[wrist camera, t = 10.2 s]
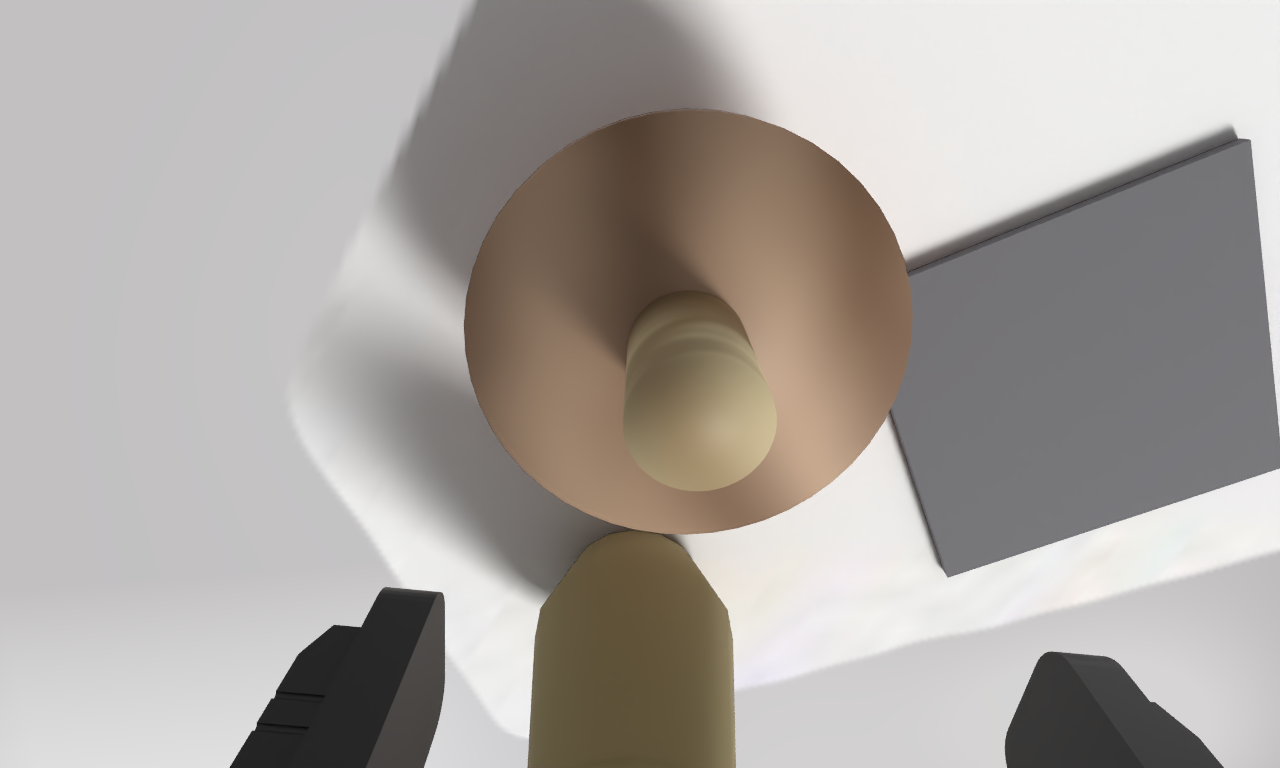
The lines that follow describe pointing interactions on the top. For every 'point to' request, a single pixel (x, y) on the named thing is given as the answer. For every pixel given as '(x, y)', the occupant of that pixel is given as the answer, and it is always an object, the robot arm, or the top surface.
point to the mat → (1092, 364)
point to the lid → (688, 322)
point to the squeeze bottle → (633, 663)
